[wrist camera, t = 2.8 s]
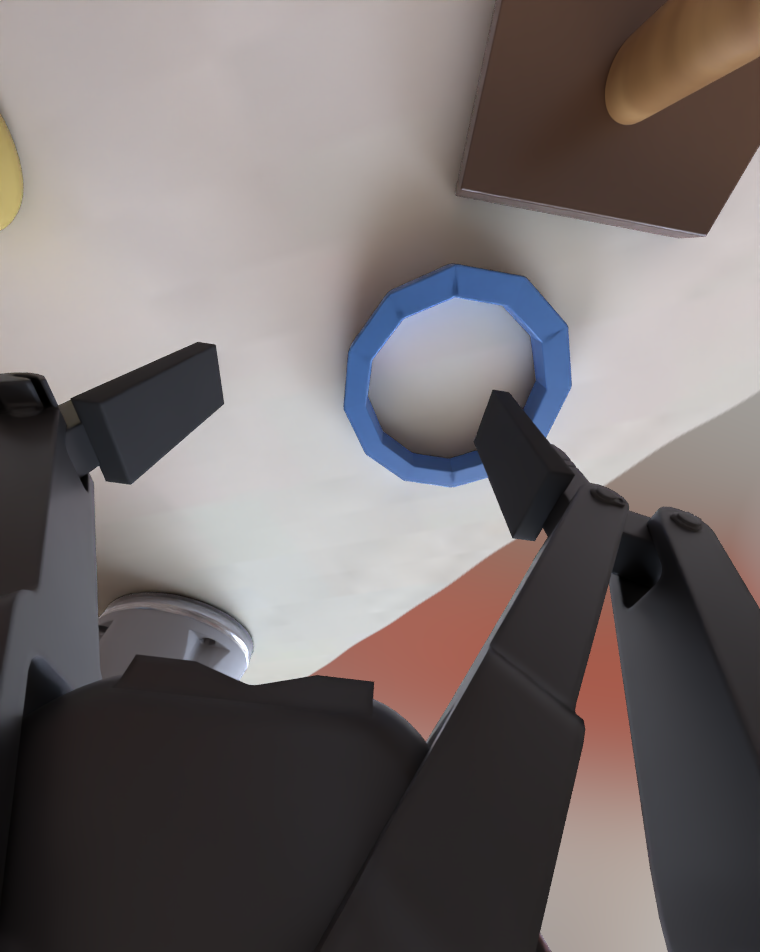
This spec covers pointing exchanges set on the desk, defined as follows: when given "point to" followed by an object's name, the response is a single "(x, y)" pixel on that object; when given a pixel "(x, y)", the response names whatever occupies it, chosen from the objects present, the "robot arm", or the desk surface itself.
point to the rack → (616, 110)
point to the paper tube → (9, 178)
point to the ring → (424, 294)
